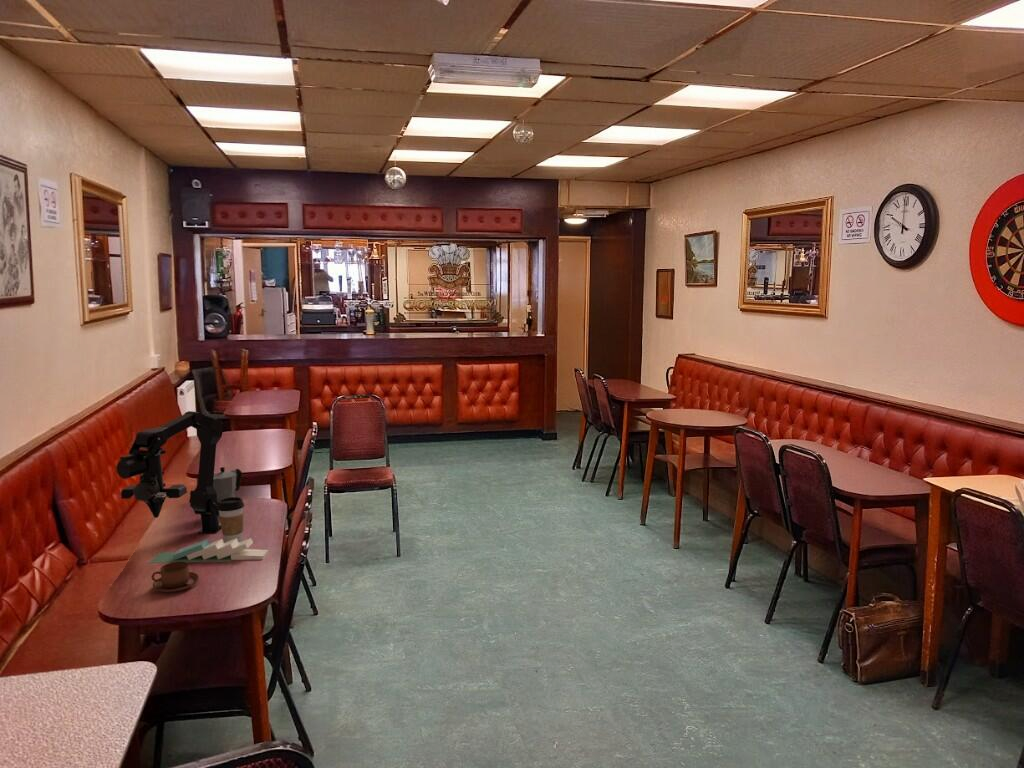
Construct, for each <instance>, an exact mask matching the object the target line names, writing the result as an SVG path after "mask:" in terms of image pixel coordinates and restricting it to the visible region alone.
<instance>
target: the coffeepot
mask: <svg viewBox="0 0 1024 768" xmlns="http://www.w3.org/2000/svg"><path fill="white" fill-rule="evenodd" d="M219 470H220V472H216V473H215V472H214V479H213V487H214V489H215V491H216V493H217V502H218V501H220V500H222V499H225V498H230V497H236V495H235V492H238V491H239V490H240V486H241V482H242V476H243V472H242V471H241V469H240V468H235V469H231V470H230V471H225V470H226V467H220V468H219ZM218 517H219V515H218Z"/></svg>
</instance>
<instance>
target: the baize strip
mask: <svg viewBox="0 0 1024 768" xmlns="http://www.w3.org/2000/svg"><path fill="white" fill-rule="evenodd" d="M176 552H177V551H173V552H172V551H171V552H166V551H164V552H159V553H158V554H157V555H156V556H154V557H153V558H151V560H149V561H148V564H149V563H172V562H187V563H218V562H219V563H222V562H223V563H226V562H227V563H228V562H229V563H230V562H231V561H232V560H231V555H229V556H226V557H224V558H221V559H219V560H218V558H217V556H216V555H215V556H213V557H210V558H207V559H205V560H204V559H203V557H202V555H201V556H198V557H195V558H193V559H190V560H188V558H187V556H184V557H181V558H179V559H176V560H174V558H173V556H172V555H174V554H175V553H176Z"/></svg>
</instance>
